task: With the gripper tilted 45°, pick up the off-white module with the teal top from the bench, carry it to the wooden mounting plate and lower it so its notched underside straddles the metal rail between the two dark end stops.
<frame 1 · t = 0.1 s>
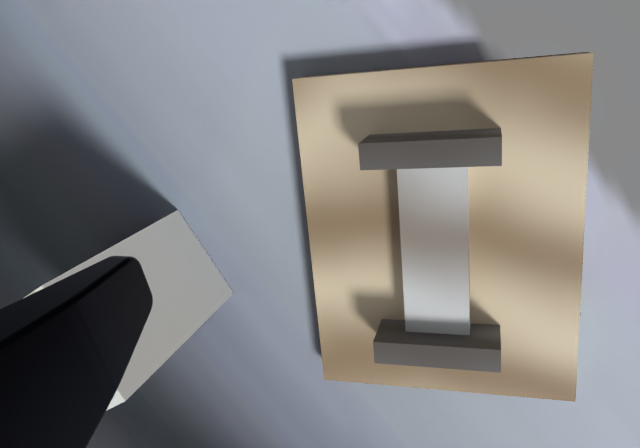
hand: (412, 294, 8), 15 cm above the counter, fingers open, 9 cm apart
module: (158, 280, 29), on the counter
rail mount: (438, 233, 23), on the counter
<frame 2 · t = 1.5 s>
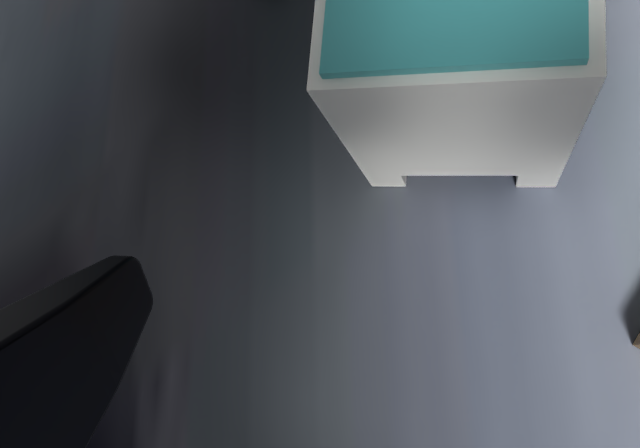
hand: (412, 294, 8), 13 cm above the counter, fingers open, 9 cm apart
module: (461, 127, 22), on the counter
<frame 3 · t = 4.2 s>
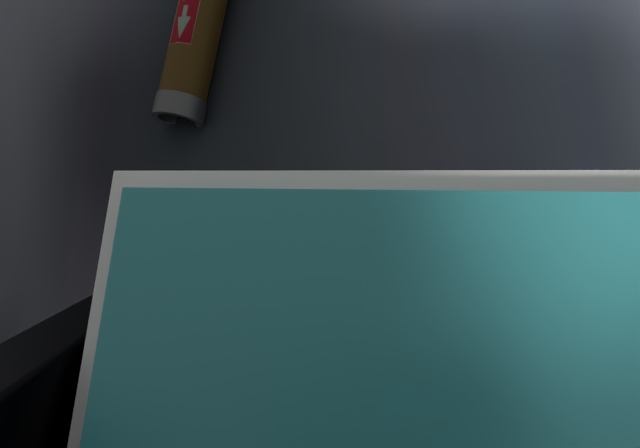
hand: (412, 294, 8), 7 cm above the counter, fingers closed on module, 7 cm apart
module: (440, 373, 14), on the counter, touching gripper
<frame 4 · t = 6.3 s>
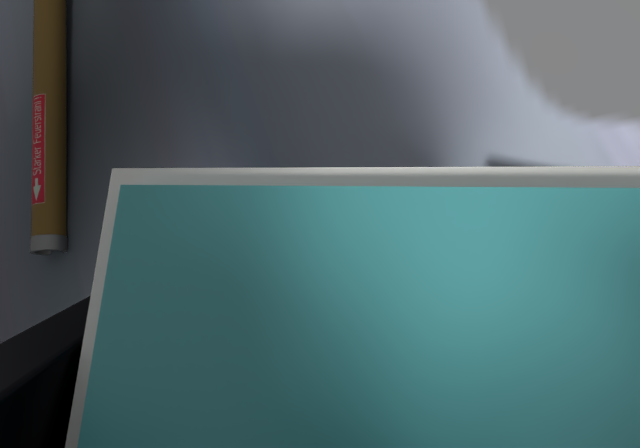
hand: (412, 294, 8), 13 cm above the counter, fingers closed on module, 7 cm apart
module: (439, 372, 14), point 7 cm above the counter, touching gripper
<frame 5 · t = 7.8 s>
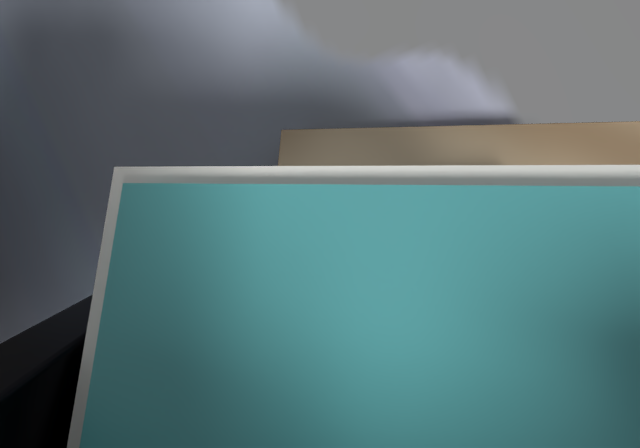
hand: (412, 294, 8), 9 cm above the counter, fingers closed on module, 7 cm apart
module: (440, 371, 14), point 2 cm above the counter, touching gripper
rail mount: (446, 365, 16), on the counter
when the fingers open (8 cm above the counter, at t = 8.6 s): module stays where it is, resting on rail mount.
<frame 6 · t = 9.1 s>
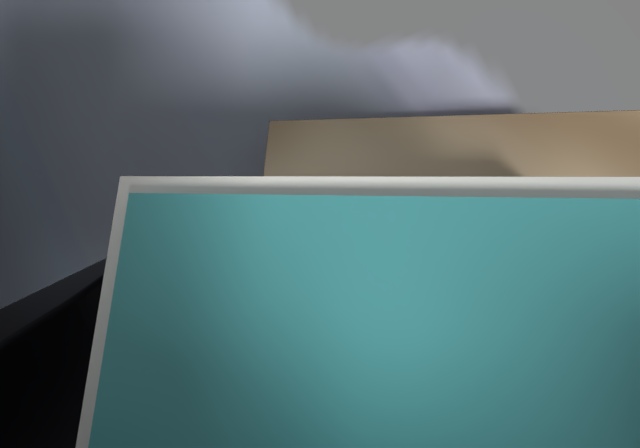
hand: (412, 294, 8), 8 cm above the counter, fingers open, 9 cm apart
module: (440, 374, 14), point 1 cm above the counter, touching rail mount
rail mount: (444, 371, 15), on the counter
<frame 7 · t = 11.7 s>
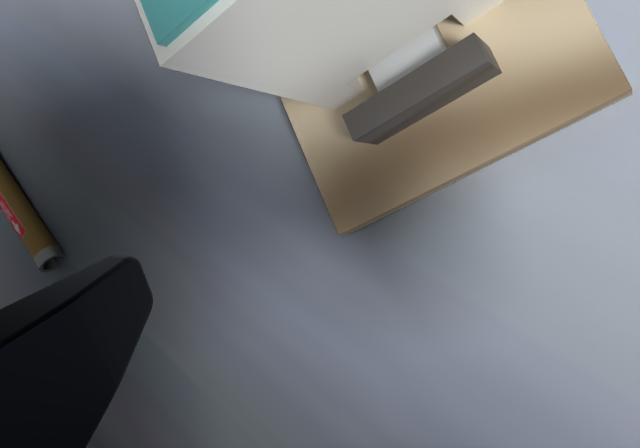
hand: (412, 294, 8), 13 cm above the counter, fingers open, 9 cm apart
module: (383, 1, 20), point 1 cm above the counter, touching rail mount
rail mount: (396, 9, 21), on the counter
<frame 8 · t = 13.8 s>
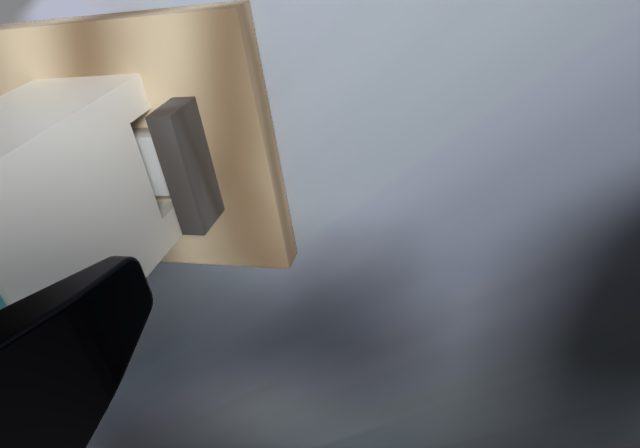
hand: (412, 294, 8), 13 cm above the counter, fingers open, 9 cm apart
module: (114, 157, 23), point 1 cm above the counter, touching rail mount
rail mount: (129, 145, 24), on the counter
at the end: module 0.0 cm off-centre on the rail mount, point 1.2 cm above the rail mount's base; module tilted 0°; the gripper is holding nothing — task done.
